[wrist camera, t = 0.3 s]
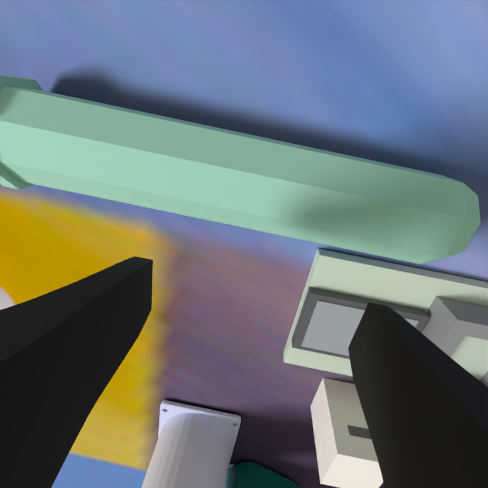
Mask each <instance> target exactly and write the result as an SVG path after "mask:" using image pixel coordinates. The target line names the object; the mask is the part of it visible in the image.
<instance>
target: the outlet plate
mask: <svg viewBox="0 0 488 488" xmlns="http://www.w3.org/2000/svg"><path fill="white" fill-rule="evenodd" d="M369 302H371V303H376V304H381V305H386V306H389V307H390V308H391V309H393V310H394V311H396V312H397V313H398V314H399V315H401V316H402V317H403V318H404V319H406V320H407V321H408V322H409V323H410V324H412V325H413V326H414V327H415V328H416V329H417V330H419V331H420V332H421V333H422V334H423V335H425V336H426V337H427V338H428V339H429V340H430V341H432V342H433V343H434V344H435V345H436V346H437V347H439V348H440V349H441V350H442V351H443V352H445V353H446V354H447V355H448V356H449V357H451V358H452V359H453V360H454V361H456V362H457V363H458V364H459V365H460V366H462V367H463V368H464V369H465V370H467V371H468V372H469V373H470V374H472V375H473V376H474V377H476V378H477V379H478V380H479V381H481V382H482V383H483V384H485V385H486V386H487V387H488V282H484V281H479V280H474V279H469V278H464V277H459V276H454V275H449V274H444V273H439V272H434V271H429V270H424V269H419V268H414V267H409V266H404V265H399V264H394V263H389V262H384V261H379V260H374V259H368V258H363V257H358V256H353V255H348V254H343V253H338V252H333V251H328V250H323V249H317V252H316V255H315V258H314V261H313V264H312V267H311V270H310V273H309V276H308V279H307V282H306V285H305V288H304V291H303V294H302V297H301V300H300V304H299V307H298V310H297V313H296V316H295V319H294V322H293V325H292V328H291V331H290V334H289V337H288V340H287V343H286V346H285V349H284V352H283V355H284V362H285V363H290V364H295V365H300V366H304V367H309V368H314V369H319V370H324V371H329V372H334V373H339V374H344V375H349V376H353V375H352V370H351V364H350V357H349V351H348V347H349V345H350V342H351V340H352V338H353V336H354V334H355V331H356V329H357V327H358V325H359V323H360V320H361V318H362V316H363V314H364V312H365V309H366V307H367V305H368V303H369Z"/></svg>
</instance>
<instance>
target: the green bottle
mask: <svg viewBox="0 0 488 488" xmlns="http://www.w3.org/2000/svg"><path fill="white" fill-rule="evenodd" d="M225 488H298V486H297V485H296V484H295V483H294V482H293V481H292V480H291V479H289V478H287V477H285V476H283V475H280V474H278V473H276V472H274V471H272V470H270V469H268V468H266V467H264V466H262V465H260V464H258V463H256V462H251V461H243V462H239V463H237V464H236V465H235V466H233V467H232V468H231V469H229V470H228V472H227V480H226V487H225Z"/></svg>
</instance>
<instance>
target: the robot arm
mask: <svg viewBox="0 0 488 488" xmlns="http://www.w3.org/2000/svg"><path fill="white" fill-rule="evenodd" d="M152 266H153V260H150V259H145V258H140V257H132V258H129V259H127V260H124V261H122V262H120V263H117V264H115V265H113V266H111V267H108V268H106V269H104V270H102V271H99V272H97V273H95V274H93V275H90V276H88V277H86V278H84V279H81V280H79V281H77V282H74V283H72V284H69V285H67V286H64V287H62V288H59V289H57V290H54V291H52V292H49V293H47V294H44V295H42V296H39V297H37V298H34V299H31V300H29V301H26V302H23V303H20V304H17V305H14V306H11V307H8V308H6V309H2V310H0V488H51V487H52V485H53V483H54V481H55V479H56V477H57V475H58V473H59V471H60V469H61V467H62V465H63V463H64V461H65V459H66V457H67V455H68V453H69V451H70V449H71V447H72V445H73V444H74V442H75V440H76V438H77V436H78V434H79V432H80V430H81V428H82V427H83V425H84V423H85V421H86V419H87V417H88V415H89V413H90V412H91V410H92V408H93V407H94V405H95V403H96V402H97V400H98V398H99V397H100V395H101V394H102V392H103V391H104V389H105V387H106V386H107V384H108V383H109V381H110V380H111V378H112V377H113V375H114V374H115V372H116V370H117V369H118V367H119V366H120V364H121V363H122V361H123V360H124V358H125V357H126V355H127V353H128V352H129V350H130V349H131V347H132V346H133V344H134V342H135V341H136V339H137V338H138V336H139V334H140V332H141V330H142V328H143V326H144V324H145V322H146V320H147V318H148V315H149V313H150V311H151V305H152ZM348 351H349V357H350V364H351V370H352V375H353V380H354V383H355V387H356V390H357V393H358V397H359V400H360V403H361V407H362V410H363V413H364V416H365V420H366V423H367V426H368V429H369V433H370V436H371V439H372V442H373V446H374V449H375V452H376V455H377V459H378V463H379V467H380V470H381V474H382V479H383V483H384V488H488V387H487V386H486V385H485V384H483V383H482V382H481V381H479V380H478V379H477V378H476V377H474V376H473V375H472V374H470V373H469V372H468V371H467V370H465V369H464V368H463V367H462V366H460V365H459V364H458V363H457V362H456V361H454V360H453V359H452V358H451V357H449V356H448V355H447V354H446V353H445V352H443V351H442V350H441V349H440V348H439V347H437V346H436V345H435V344H434V343H433V342H432V341H430V340H429V339H428V338H427V337H426V336H425V335H423V334H422V333H421V332H420V331H419V330H417V329H416V328H415V327H414V326H413V325H412V324H410V323H409V322H408V321H407V320H406V319H404V318H403V317H402V316H401V315H399V314H398V313H397V312H396V311H394V310H393V309H391V308H390V307H389V306H386V305H381V304H376V303H371V302H369V303H368V305H367V307H366V309H365V312H364V314H363V316H362V318H361V320H360V323H359V325H358V327H357V329H356V331H355V334H354V336H353V338H352V340H351V342H350V345H349V347H348ZM240 423H241V417H240V416H238V415H235V414H230V413H225V412H220V411H215V410H210V409H206V408H201V407H196V406H191V405H186V404H181V403H177V402H172V401H167V400H165V401H162V403H161V405H160V420H159V436H158V442H157V445H156V448H155V450H154V453H153V456H152V459H151V462H150V465H149V467H148V470H147V473H146V476H145V479H144V482H143V484H142V487H141V488H225V487H226V480H227V472H228V467H229V463H230V459H231V456H232V452H233V448H234V445H235V441H236V438H237V434H238V430H239V427H240Z"/></svg>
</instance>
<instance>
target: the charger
mask: <svg viewBox="0 0 488 488" xmlns="http://www.w3.org/2000/svg"><path fill="white" fill-rule="evenodd" d="M310 407H311V414H312V422H313V430H314V438H315V446H316V453H317V461H318V469H319V477H320V484H324V485H329V486H334V487H339V488H379V487H380V486H381V484H382V483H383V479H382V474H381V470H380V467H379V463H378V459H377V455H376V452H375V449H374V446H373V442H372V439H371V436H370V433H369V429H368V426H367V423H366V420H365V416H364V413H363V410H362V407H361V403H360V400H359V397H358V393H357V390H356V387H355V384H352V383H347V382H342V381H337V380H332V379H327V378H323V379H322V381H321V384H320V386H319V388H318V390H317V393H316V395H315V397H314V400H313V402H312V404H311V406H310Z"/></svg>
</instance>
